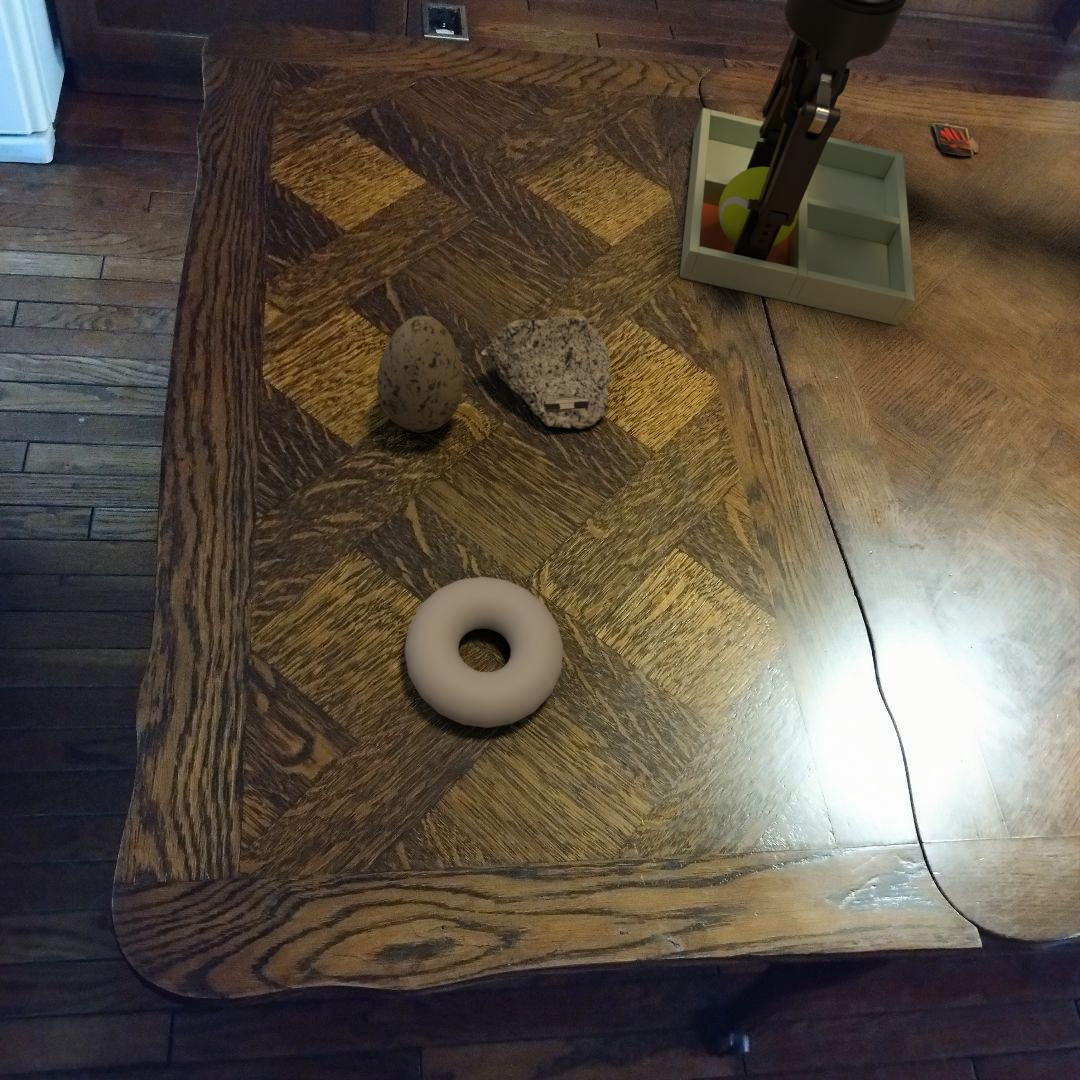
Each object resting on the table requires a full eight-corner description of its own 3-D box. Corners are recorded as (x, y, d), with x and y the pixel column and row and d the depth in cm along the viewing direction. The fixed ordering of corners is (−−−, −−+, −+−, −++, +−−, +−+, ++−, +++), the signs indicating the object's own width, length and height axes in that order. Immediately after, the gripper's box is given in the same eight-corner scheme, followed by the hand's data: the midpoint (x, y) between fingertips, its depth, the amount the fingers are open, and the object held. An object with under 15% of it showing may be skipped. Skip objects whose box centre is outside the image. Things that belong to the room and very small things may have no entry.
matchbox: (944, 158, 98) (946, 154, 98) (923, 124, 100) (925, 120, 100) (984, 156, 99) (986, 152, 99) (962, 123, 102) (964, 119, 101)
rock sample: (549, 438, 68) (550, 308, 67) (475, 432, 73) (475, 312, 72) (644, 432, 75) (647, 315, 74) (571, 428, 81) (572, 318, 79)
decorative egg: (434, 463, 70) (443, 372, 62) (361, 428, 71) (360, 333, 62) (472, 407, 73) (486, 312, 65) (401, 374, 74) (406, 276, 66)
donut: (429, 575, 66) (382, 709, 60) (433, 548, 63) (383, 687, 58) (573, 617, 66) (538, 755, 60) (583, 592, 63) (547, 735, 58)
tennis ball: (798, 247, 86) (828, 185, 80) (749, 278, 83) (776, 216, 78) (742, 202, 88) (768, 138, 82) (693, 231, 85) (715, 167, 80)
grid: (888, 180, 95) (903, 153, 92) (898, 326, 85) (915, 300, 82) (693, 135, 94) (702, 107, 91) (679, 277, 84) (689, 250, 81)
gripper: (803, -112, 71) (710, 156, 90) (802, 44, 61) (697, 309, 80) (903, -88, 71) (789, 174, 91) (919, 71, 61) (786, 328, 81)
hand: (746, 237), depth 85 cm, fingers closed on tennis ball, 7 cm apart
